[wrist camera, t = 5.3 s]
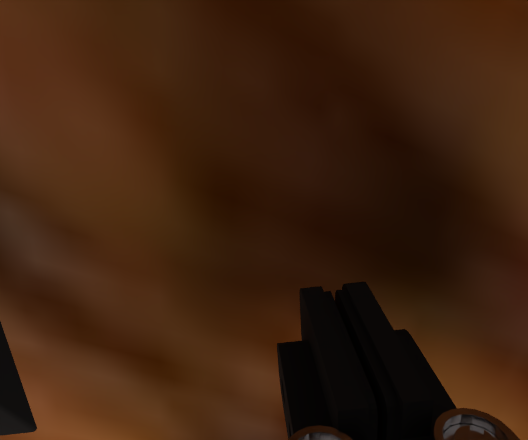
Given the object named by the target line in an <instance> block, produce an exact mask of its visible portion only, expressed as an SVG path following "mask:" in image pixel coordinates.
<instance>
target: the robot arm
mask: <svg viewBox="0 0 528 440" xmlns="http://www.w3.org/2000/svg"><path fill="white" fill-rule="evenodd" d="M300 313H301V334H302V341H295V342H286V343H277V352H278V365H279V377H280V386H281V394H282V401H283V408H284V414H285V421H286V427H287V433H288V440H520V439H519V438H518V437H517V436H516V435H515V434H514V433H513V432H512V431H511V429H509V428H508V427H507V426H506V425H505V424H504V423H502V422H501V421H500V420H498V419H496V418H495V417H493V416H491V415H489V414H487V413H484V412H481V411H478V410H475V409H467V408H458V409H457V408H456V406H455V405H454V403H453V402H452V400H451V398H450V397H449V395H448V394H447V392H446V391H445V389H444V387H443V386H442V384H441V383H440V381H439V379H438V378H437V376H436V375H435V373H434V371H433V370H432V368H431V367H430V365H429V363H428V362H427V360H426V359H425V357H424V356H423V354H422V352H421V351H420V349H419V348H418V346H417V344H416V343H415V341H414V340H413V338H412V336H411V335H410V334H409V332H408V331H407V330H405V329H402V330H393V328H392V326H391V325H390V323H389V321H388V319H387V318H386V316H385V314H384V313H383V311H382V309H381V307H380V306H379V304H378V302H377V300H376V299H375V297H374V295H373V294H372V292H371V290H370V288H369V287H368V285H367V283H366V282H357V283H348V284H343V287H342V290H336V293H335V301H334V298H333V296H332V293H331V292H330V291H326V292H324V291H323V289H322V287H321V286H320V287H310V288H301V289H300Z"/></svg>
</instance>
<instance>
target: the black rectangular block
mask: <svg viewBox="0 0 528 440" xmlns="http://www.w3.org/2000/svg"><path fill="white" fill-rule="evenodd" d="M36 429H37V427H36V424H35V421H34V418H33V415H32V412H31V409H30V406H29V403H28V401H27V398H26V395H25V392H24V389H23V386H22V383H21V380H20V377H19V374H18V371H17V369H16V366H15V363H14V360H13V357H12V354H11V351H10V348H9V345H8V342H7V339H6V337H5V334H4V331H3V328H2V325H1V322H0V435H9V434H18V433H27V432H34V431H35V430H36Z"/></svg>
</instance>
